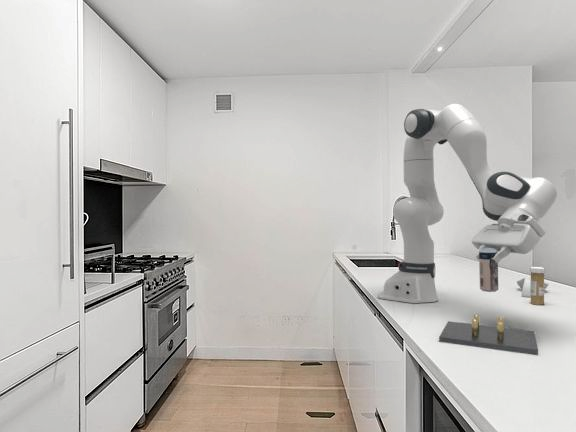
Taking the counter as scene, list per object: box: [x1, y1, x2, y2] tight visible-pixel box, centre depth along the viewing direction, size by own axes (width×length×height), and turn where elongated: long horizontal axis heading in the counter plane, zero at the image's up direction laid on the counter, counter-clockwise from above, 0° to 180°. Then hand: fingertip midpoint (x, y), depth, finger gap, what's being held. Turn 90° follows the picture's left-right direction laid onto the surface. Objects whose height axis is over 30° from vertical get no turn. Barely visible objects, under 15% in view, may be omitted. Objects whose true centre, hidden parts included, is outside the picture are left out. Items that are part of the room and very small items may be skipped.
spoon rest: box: [516, 277, 549, 298], centre depth 178 cm, size 24×12×7 cm, turn 147°
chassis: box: [438, 314, 539, 356], centre depth 113 cm, size 22×18×5 cm
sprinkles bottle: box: [529, 266, 546, 306], centre depth 156 cm, size 5×5×13 cm
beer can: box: [478, 248, 499, 293], centre depth 120 cm, size 5×5×12 cm
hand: (486, 259), depth 120 cm, fingers closed on beer can, 5 cm apart
